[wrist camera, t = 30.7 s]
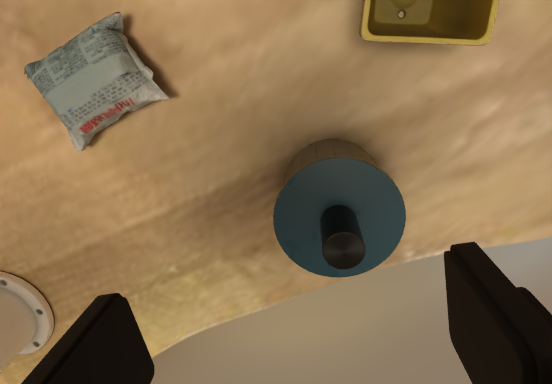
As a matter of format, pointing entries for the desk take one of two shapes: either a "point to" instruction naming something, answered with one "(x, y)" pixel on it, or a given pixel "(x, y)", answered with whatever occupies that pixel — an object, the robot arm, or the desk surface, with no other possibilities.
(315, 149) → the pot
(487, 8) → the flower pot
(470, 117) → the desk surface
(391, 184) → the pot lid
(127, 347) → the robot arm
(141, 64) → the packaged food
